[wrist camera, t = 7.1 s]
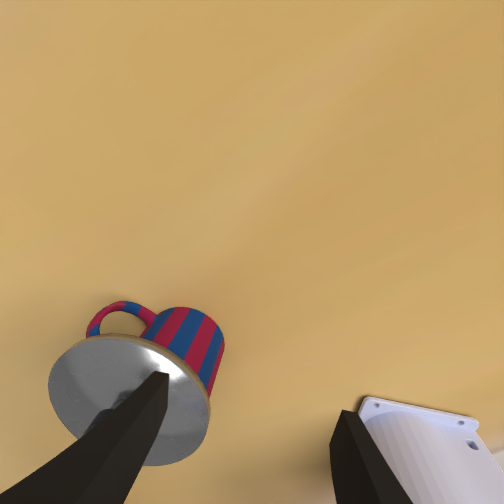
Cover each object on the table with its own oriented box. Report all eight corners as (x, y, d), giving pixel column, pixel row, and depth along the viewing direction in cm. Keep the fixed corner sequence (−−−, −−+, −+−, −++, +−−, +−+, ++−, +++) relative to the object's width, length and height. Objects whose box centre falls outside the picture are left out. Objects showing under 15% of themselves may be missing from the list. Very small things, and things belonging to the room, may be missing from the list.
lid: (218, 352, 15) (194, 426, 11) (203, 468, 18) (181, 556, 14) (48, 318, 15) (-36, 376, 11) (65, 437, 19) (5, 514, 15)
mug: (180, 379, 25) (145, 456, 19) (110, 297, 23) (42, 352, 16) (239, 353, 23) (223, 428, 17) (170, 260, 21) (120, 306, 14)
